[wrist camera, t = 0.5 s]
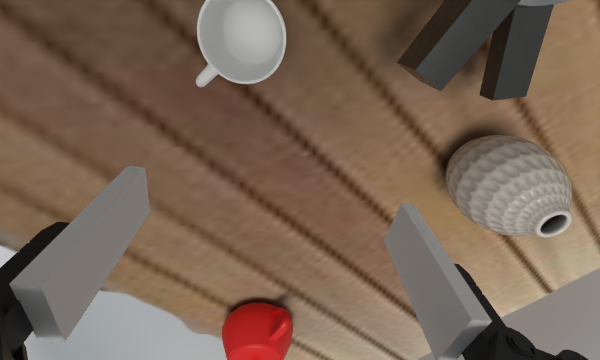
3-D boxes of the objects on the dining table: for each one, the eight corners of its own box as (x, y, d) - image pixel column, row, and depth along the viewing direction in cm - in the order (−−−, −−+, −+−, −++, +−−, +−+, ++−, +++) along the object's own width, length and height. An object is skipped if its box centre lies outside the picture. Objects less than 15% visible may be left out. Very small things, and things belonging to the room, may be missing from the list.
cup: (299, 37, 35) (304, 44, 26) (233, 99, 39) (218, 123, 30) (253, -25, 32) (241, -41, 23) (185, 49, 35) (152, 60, 27)
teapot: (257, 275, 57) (250, 333, 47) (316, 301, 62) (322, 358, 52) (202, 334, 67) (186, 394, 56) (257, 352, 72) (252, 410, 62)
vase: (526, 146, 45) (641, 207, 30) (465, 202, 50) (538, 278, 36) (474, 105, 41) (576, 154, 26) (413, 171, 46) (472, 242, 32)
